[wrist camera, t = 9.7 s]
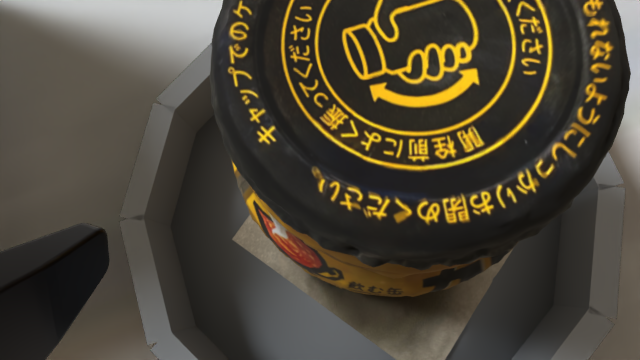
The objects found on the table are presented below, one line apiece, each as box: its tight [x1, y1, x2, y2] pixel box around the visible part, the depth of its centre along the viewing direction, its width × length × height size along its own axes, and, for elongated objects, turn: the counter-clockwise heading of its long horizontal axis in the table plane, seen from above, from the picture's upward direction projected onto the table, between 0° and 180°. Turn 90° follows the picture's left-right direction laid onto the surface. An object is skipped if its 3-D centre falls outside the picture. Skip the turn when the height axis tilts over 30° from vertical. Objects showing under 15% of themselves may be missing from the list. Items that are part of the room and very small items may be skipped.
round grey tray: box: [119, 43, 625, 360], centre depth 16 cm, size 16×16×3 cm
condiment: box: [210, 0, 631, 360], centre depth 11 cm, size 7×8×12 cm
